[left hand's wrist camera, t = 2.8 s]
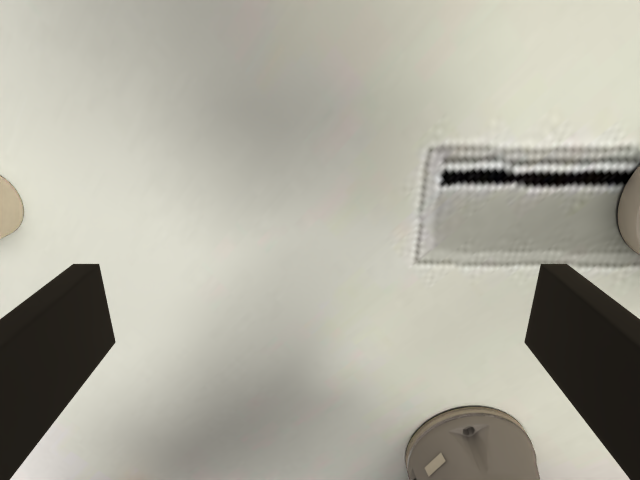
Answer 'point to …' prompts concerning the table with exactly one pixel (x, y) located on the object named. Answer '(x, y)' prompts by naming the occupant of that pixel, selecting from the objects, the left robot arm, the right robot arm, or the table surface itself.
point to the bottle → (9, 208)
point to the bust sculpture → (630, 212)
